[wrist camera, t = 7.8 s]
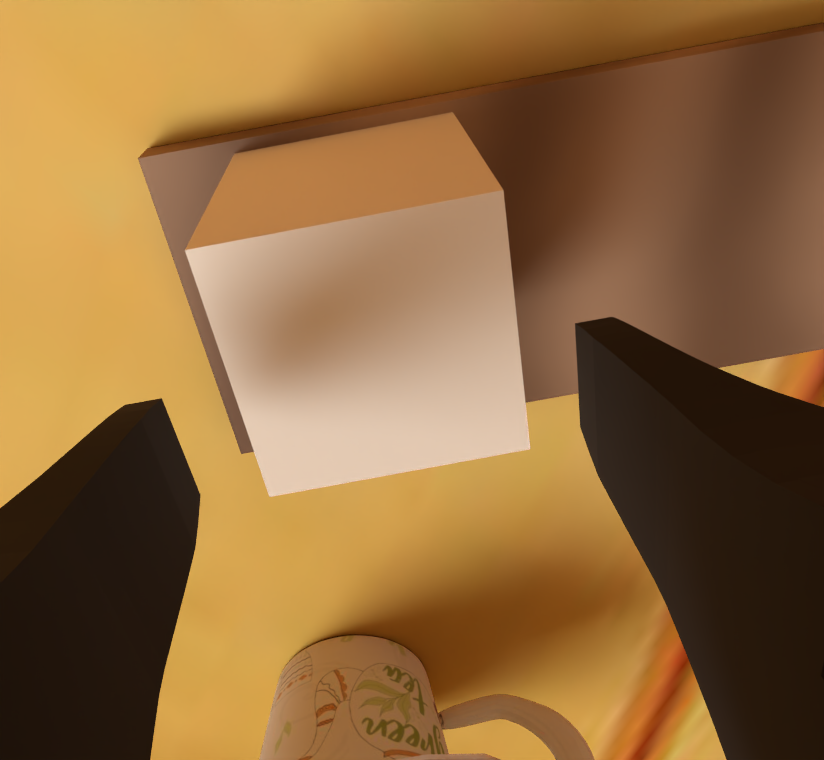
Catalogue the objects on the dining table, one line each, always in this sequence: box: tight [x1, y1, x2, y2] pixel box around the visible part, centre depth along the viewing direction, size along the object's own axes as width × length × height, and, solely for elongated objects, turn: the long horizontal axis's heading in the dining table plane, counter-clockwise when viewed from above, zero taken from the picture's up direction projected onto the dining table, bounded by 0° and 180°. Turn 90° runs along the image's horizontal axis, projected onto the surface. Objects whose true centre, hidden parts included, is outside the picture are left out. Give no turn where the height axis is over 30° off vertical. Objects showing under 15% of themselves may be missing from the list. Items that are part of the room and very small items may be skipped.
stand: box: [138, 23, 824, 454], centre depth 21 cm, size 18×9×1 cm, turn 99°
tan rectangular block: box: [185, 112, 530, 497], centre depth 17 cm, size 5×5×7 cm
